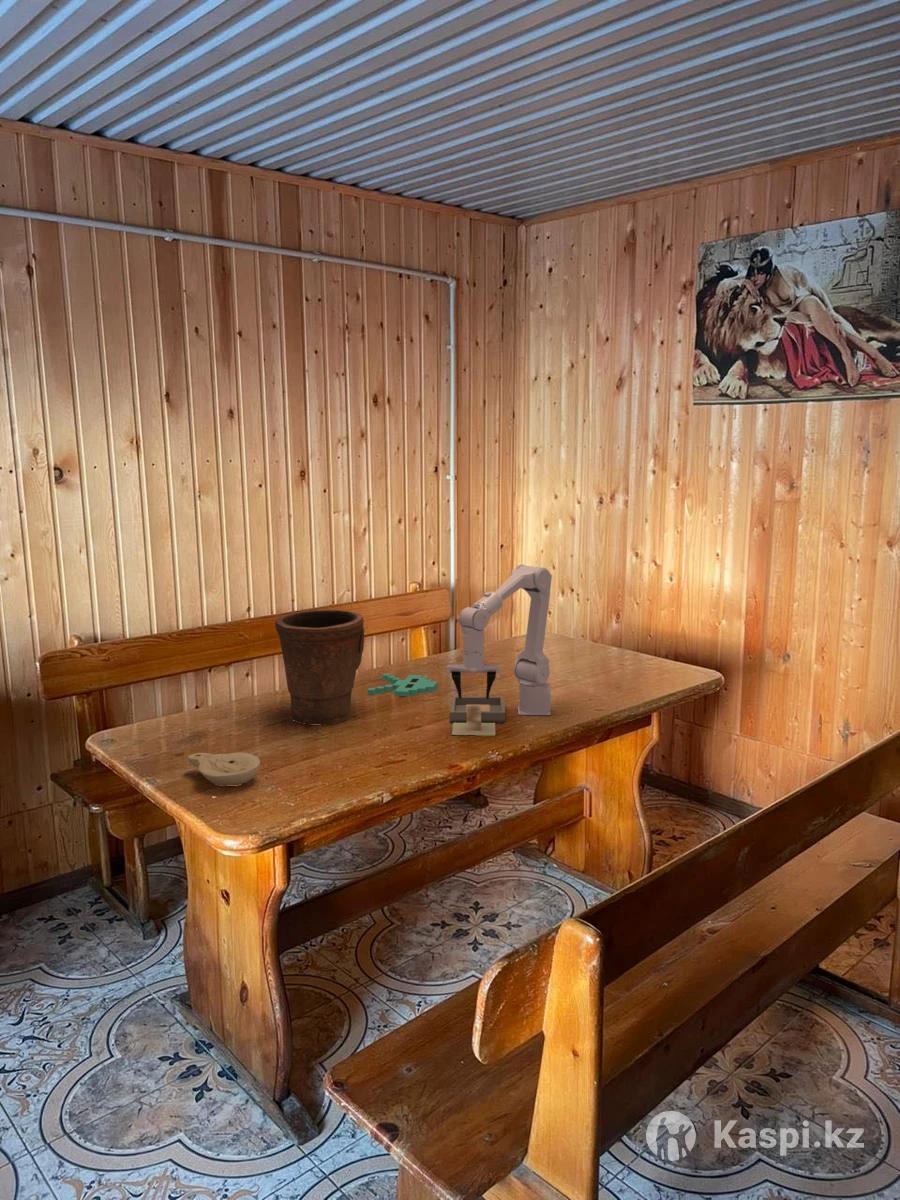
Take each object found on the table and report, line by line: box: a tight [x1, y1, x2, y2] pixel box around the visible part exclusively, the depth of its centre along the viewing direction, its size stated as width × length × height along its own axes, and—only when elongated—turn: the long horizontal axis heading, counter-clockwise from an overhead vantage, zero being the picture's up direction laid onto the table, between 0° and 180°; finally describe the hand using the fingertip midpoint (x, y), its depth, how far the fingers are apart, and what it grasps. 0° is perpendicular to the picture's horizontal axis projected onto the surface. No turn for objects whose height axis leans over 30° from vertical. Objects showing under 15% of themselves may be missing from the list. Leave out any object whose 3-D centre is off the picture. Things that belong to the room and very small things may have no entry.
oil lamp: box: [187, 752, 261, 786], centre depth 216 cm, size 21×14×5 cm
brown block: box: [467, 706, 481, 731], centre depth 250 cm, size 4×4×6 cm
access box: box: [449, 695, 506, 724], centre depth 264 cm, size 16×16×3 cm
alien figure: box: [367, 673, 438, 698], centre depth 292 cm, size 20×2×20 cm
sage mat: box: [451, 723, 496, 737], centre depth 250 cm, size 12×10×1 cm
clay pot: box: [274, 609, 365, 726], centre depth 263 cm, size 25×29×30 cm
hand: (473, 697), depth 249 cm, fingers open, 7 cm apart
